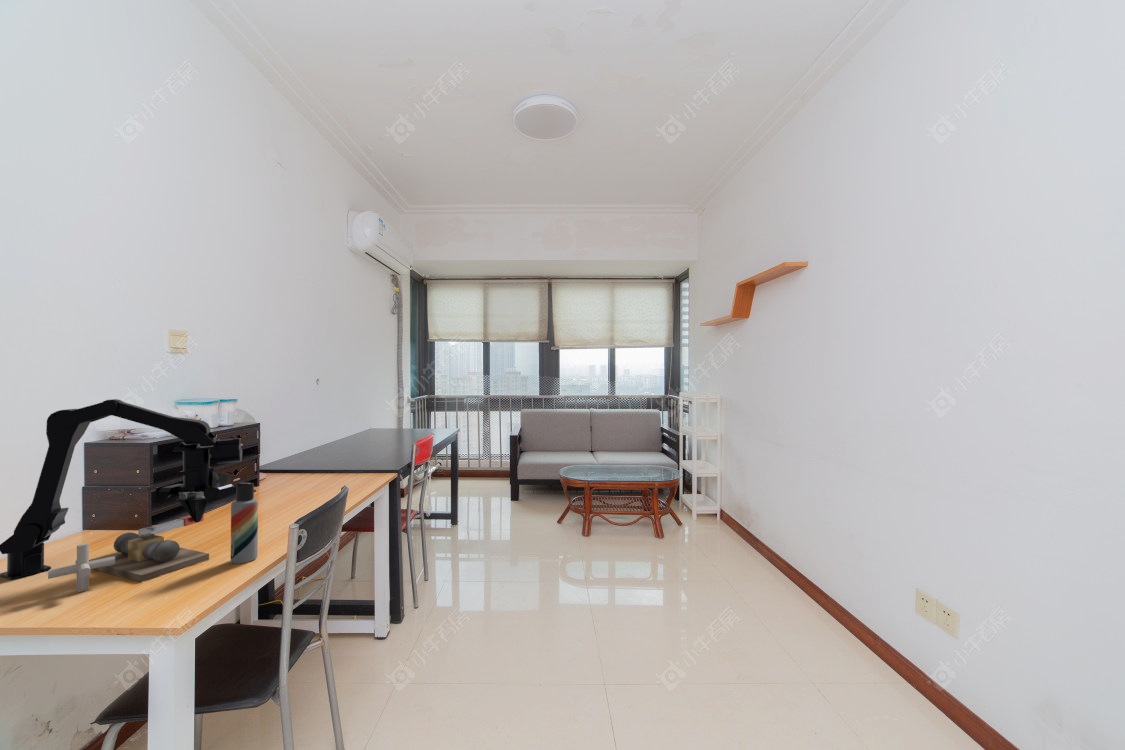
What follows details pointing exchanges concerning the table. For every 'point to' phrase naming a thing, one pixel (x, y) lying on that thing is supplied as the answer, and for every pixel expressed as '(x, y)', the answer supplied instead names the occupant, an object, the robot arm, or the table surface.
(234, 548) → the lotion bottle
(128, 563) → the valve mount
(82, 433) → the robot arm
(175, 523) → the lever
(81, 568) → the pipe connector
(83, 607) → the table surface
